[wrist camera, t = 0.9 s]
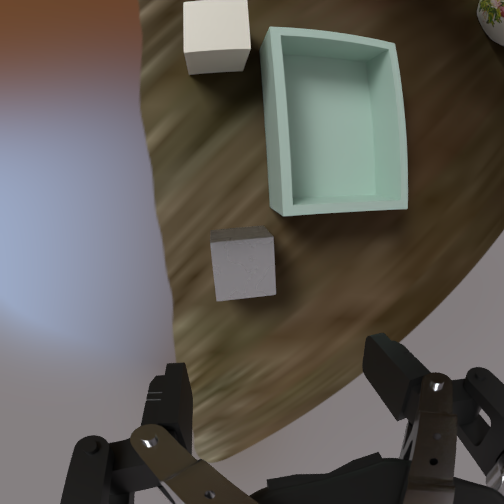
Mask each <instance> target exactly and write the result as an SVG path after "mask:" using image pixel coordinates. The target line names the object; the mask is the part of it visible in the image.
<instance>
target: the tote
mask: <svg viewBox="0 0 504 504" xmlns="http://www.w3.org/2000/svg"><path fill="white" fill-rule="evenodd" d="M259 53H260V65H261V78H262V91H263V105H264V119H265V134H266V149H267V165H268V181H269V199H270V208H272V209H273V210H275V211H276V212H278V213H279V214H280V215H282V216H295V215H309V214H324V213H339V212H356V211H375V210H395V209H408V163H407V140H406V125H405V113H404V103H403V94H402V86H401V79H400V72H399V65H398V59H397V53H396V48H395V44H394V43H390V42H386V41H381V40H377V39H372V38H367V37H361V36H356V35H350V34H344V33H337V32H329V31H321V30H311V29H300V28H285V27H269V29H268V32H267V34H266V36H265V38H264V41H263V43H262V45H261V47H260V50H259Z"/></svg>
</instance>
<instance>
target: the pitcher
mask: <svg viewBox="0 0 504 504" xmlns="http://www.w3.org/2000/svg"><path fill="white" fill-rule="evenodd" d="M477 16H478V20H479V22H480V24H481V26H482V28H483V29H484V31H485V32H486V34H487V35H488V36H489V37H490V38H491V39H492V40H493V41H494V42H496V43H498V44H500V45H502V46H504V0H480V2H479V4H478V9H477Z"/></svg>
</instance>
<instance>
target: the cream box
mask: <svg viewBox="0 0 504 504" xmlns="http://www.w3.org/2000/svg"><path fill="white" fill-rule="evenodd" d="M250 50H251V43H250V31H249V18H248V6H247V0H204V1H192V2H184V55H185V60H186V64H187V68H188V73H189V75H193V74H204V73H217V72H236V71H243V69H244V66H245V64H246V61H247V58H248V55H249V53H250Z"/></svg>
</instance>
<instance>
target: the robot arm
mask: <svg viewBox="0 0 504 504" xmlns="http://www.w3.org/2000/svg"><path fill="white" fill-rule="evenodd" d="M362 366H363V372H364V374H365V376H366V378H367V379H368V381H369V382H370V383H371V385H372V386H373V388H374V389H375V390H376V392H377V393H378V395H379V396H380V397H381V399H382V400H383V402H384V403H385V405H386V406H387V407H388V409H389V410H390V412H391V413H392V415H393V416H394V417H395V419H396V420H397V421H399V420H402V419H404V418H407V419H408V423H407V426H406V431H405V436H404V441H403V445H402V449H401V453H400V457H399V459H398V458H382V457H381V455H380V454H379V452H377V453H374V454H371V455H368V456H365V457H362V458H359V459H356V460H353V461H351V462H349V463H348V464H345V465H343V466H342V467H340V468H338V469H336V470H334V471H332V472H330V473H326V474H296V475H291V476H285V477H280V478H274V479H267V487H266V488H263V489H261V490H259V491H257V492H255V493H253V494H252V495H250V496H248V495H247V494H245V493H244V492H243V491H241V490H240V489H239V488H238V487H236V486H235V485H234V484H232V483H231V482H230V481H229V480H227V479H226V478H225V477H224V476H223V475H221V474H220V473H219V472H218V471H217V470H215V469H214V468H213V467H212V466H211V465H210V464H208V463H207V462H206V461H204V460H202V459H200V460H196V459H195V458H194V457H193V456H192V414H193V397H192V390H191V386H190V382H189V378H188V373H187V369H186V365H185V363H169V364H167V366H166V371H165V375H161V376H156V377H155V378H154V379H153V380H152V382H151V383H150V386H149V390H148V394H147V401H146V403H145V408H144V413H143V418H142V423H141V426H140V427H138V428H137V429H135V430H134V431H133V433H132V434H131V437H130V438H129V439H126V440H123V441H118V442H113V443H108V442H107V441H106V440H105V439H104V438H102V437H100V436H95V435H93V436H87V437H84V438H83V439H81V440H79V441H78V442H77V444H76V445H75V448H74V451H73V455H72V458H71V462H70V466H69V469H68V473H67V477H66V481H65V485H64V490H63V494H62V499H61V503H60V504H134V493H135V491H140V490H145V489H149V488H153V487H157V489H158V490H159V491H160V492H161V493H162V494H163V495H164V497H165V498H166V499H167V500H168V501H169V502H170V503H171V504H504V384H503V383H502V382H501V381H500V380H499V379H498V378H497V377H495V376H494V375H493V374H492V373H491V372H490V371H489V370H487V369H485V368H481V367H476V368H472V369H470V370H469V371H468V373H467V375H466V378H465V379H459V380H451V379H450V378H449V377H448V376H447V375H445V374H442V373H436V372H435V373H431V372H430V371H429V370H428V369H427V368H426V367H425V366H424V365H423V364H422V363H421V362H420V361H419V360H418V359H417V358H415V357H414V355H413V354H412V353H410V352H409V350H408V349H407V348H406V347H405V346H403V345H402V344H400V343H398V342H396V341H391V340H390V339H389V338H388V337H387V336H386V335H385V334H384V333H379V334H375V335H371V336H368V337H367V338H366V342H365V350H364V357H363V365H362ZM481 408H482V409H483V410H484V411H485V413H486V414H487V415H488V416H489V417H490V420H491V427H490V426H489V425H488V424H487V423H486V422H485V420H484V419H483V418H482V417H481V416H480V415H479V412H480V410H481ZM457 436H458V437H459V439H460V440H461V442H462V443H463V444H464V446H465V447H466V449H467V450H468V451H469V453H470V454H471V456H472V457H473V458H474V460H475V461H476V463H477V464H478V466H479V467H480V468H481V470H482V471H483V472H484V474H485V476H486V485H487V486H484V485H480V484H476V483H473V482H469V481H466V480H462V479H459V478H456V477H453V476H454V467H455V466H454V465H455V456H456V455H455V454H456V441H457Z"/></svg>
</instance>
